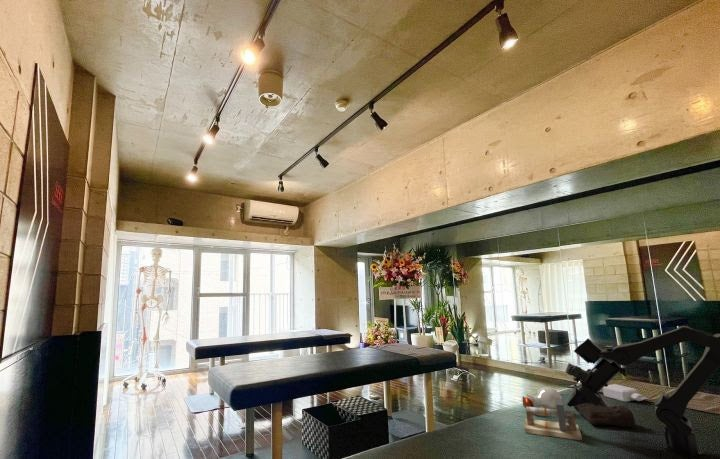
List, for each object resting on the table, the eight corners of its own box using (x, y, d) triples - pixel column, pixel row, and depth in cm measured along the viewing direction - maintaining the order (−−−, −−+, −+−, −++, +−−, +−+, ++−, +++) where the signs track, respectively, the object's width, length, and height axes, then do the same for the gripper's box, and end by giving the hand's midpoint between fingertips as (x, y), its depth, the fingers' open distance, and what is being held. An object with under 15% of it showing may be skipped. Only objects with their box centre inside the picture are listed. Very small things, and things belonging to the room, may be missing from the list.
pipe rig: (578, 429, 121) (575, 407, 123) (581, 440, 112) (578, 416, 114) (525, 422, 129) (523, 401, 130) (525, 432, 120) (522, 410, 121)
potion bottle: (565, 414, 139) (532, 422, 137) (549, 394, 148) (517, 401, 146) (570, 399, 135) (536, 407, 133) (553, 379, 144) (521, 386, 142)
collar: (564, 422, 122) (561, 398, 124) (566, 430, 115) (563, 405, 117) (558, 421, 123) (555, 398, 125) (560, 429, 116) (556, 404, 118)
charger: (639, 406, 143) (604, 396, 157) (654, 403, 146) (617, 394, 160) (637, 394, 144) (602, 385, 158) (651, 391, 147) (616, 383, 161)
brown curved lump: (634, 408, 119) (611, 388, 134) (587, 409, 122) (570, 390, 137) (638, 435, 119) (615, 413, 134) (591, 436, 122) (573, 414, 137)
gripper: (576, 351, 129) (546, 380, 131) (582, 361, 112) (548, 393, 115) (604, 375, 124) (573, 404, 126) (615, 389, 107) (579, 422, 110)
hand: (568, 405), depth 120 cm, fingers closed
